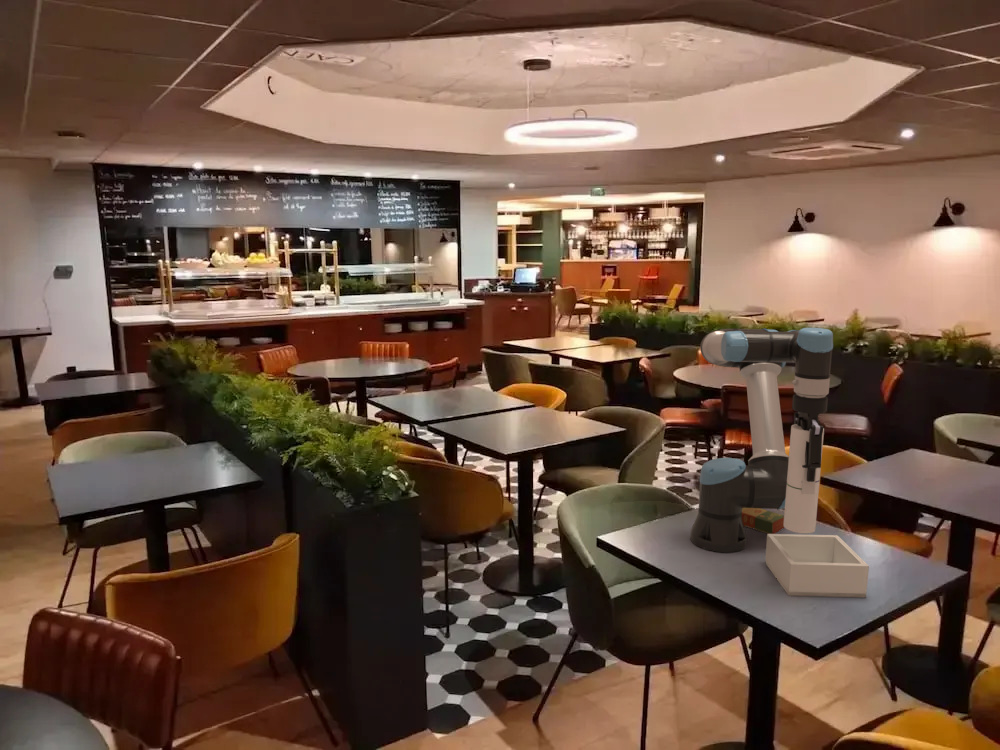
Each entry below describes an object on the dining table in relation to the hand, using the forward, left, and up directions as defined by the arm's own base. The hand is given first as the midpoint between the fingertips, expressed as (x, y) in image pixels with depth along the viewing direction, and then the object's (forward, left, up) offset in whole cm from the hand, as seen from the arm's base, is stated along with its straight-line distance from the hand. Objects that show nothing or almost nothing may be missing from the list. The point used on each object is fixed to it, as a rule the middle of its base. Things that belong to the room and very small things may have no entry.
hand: (802, 487), depth 173 cm
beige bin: (-3, +6, -25) cm, 26 cm away
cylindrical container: (0, 0, -10) cm, 10 cm away
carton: (-39, +2, -26) cm, 47 cm away
